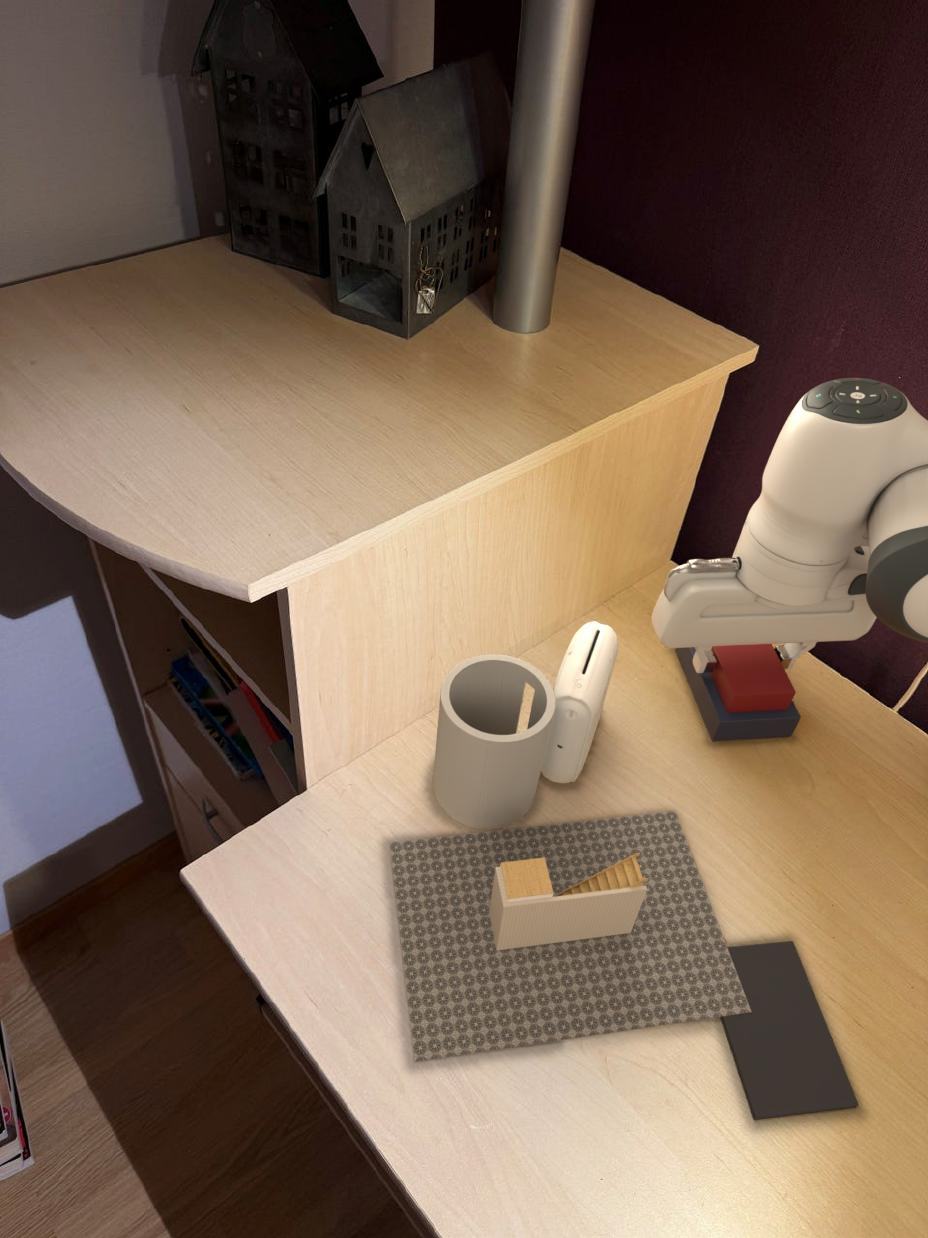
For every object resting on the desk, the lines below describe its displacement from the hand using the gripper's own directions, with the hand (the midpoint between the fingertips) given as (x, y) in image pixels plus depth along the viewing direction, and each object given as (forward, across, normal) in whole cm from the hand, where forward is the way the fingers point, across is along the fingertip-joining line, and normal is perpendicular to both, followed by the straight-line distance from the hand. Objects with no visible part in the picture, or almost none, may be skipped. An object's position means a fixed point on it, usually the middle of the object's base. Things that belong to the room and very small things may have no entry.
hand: (741, 666), depth 88 cm
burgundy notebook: (+1, 0, 0) cm, 1 cm away
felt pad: (+4, -8, -32) cm, 33 cm away
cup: (+4, -26, -9) cm, 28 cm away
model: (+4, -22, -23) cm, 32 cm away
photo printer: (+4, -18, -5) cm, 19 cm away
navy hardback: (+4, 0, 0) cm, 4 cm away
